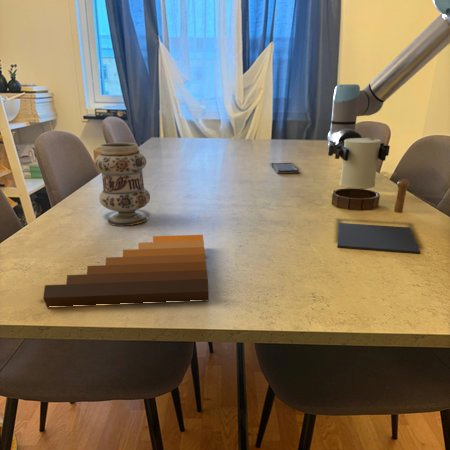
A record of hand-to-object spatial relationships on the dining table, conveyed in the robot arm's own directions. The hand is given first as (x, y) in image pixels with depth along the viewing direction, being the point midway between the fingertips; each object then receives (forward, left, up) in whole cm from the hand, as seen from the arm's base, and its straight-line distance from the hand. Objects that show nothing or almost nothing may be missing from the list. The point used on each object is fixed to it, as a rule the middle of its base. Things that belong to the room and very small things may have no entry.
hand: (365, 155), depth 109 cm
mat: (-3, +23, -14) cm, 27 cm away
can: (+1, -5, -9) cm, 10 cm away
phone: (+26, -50, -14) cm, 58 cm away
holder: (-2, -4, -14) cm, 15 cm away
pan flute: (+40, +53, -14) cm, 68 cm away
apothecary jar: (+56, +23, -14) cm, 62 cm away
